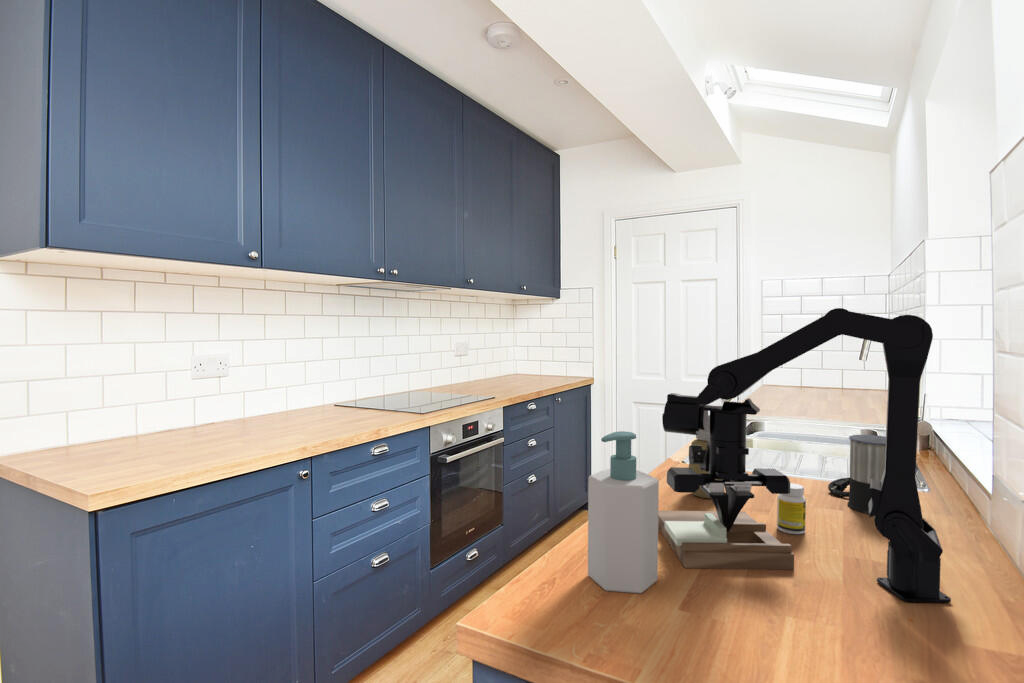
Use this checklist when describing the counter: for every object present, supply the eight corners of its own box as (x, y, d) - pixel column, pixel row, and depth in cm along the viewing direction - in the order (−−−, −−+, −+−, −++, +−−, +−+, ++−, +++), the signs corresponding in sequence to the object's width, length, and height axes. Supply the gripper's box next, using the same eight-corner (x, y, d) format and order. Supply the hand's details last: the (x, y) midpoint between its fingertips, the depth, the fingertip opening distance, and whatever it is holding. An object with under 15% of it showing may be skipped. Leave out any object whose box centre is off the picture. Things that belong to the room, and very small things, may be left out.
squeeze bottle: (733, 498, 124) (734, 417, 123) (703, 502, 121) (705, 419, 120) (707, 488, 131) (709, 411, 131) (679, 492, 128) (680, 413, 128)
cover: (727, 546, 90) (727, 529, 90) (676, 545, 90) (677, 528, 90) (710, 528, 98) (710, 512, 98) (664, 527, 98) (664, 512, 98)
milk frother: (888, 519, 111) (890, 445, 110) (807, 499, 123) (808, 432, 123) (916, 506, 119) (917, 436, 119) (837, 488, 132) (838, 425, 131)
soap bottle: (579, 569, 88) (580, 429, 87) (629, 560, 91) (631, 425, 90) (613, 599, 78) (615, 442, 77) (668, 588, 81) (670, 437, 81)
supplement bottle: (808, 536, 102) (809, 490, 102) (780, 534, 103) (781, 488, 103) (800, 526, 107) (801, 482, 106) (774, 524, 107) (774, 481, 107)
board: (793, 569, 88) (794, 548, 88) (684, 568, 88) (685, 546, 88) (744, 523, 108) (744, 506, 108) (655, 522, 108) (655, 505, 108)
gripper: (763, 429, 101) (761, 515, 102) (659, 428, 102) (658, 513, 102) (792, 443, 90) (790, 539, 91) (676, 441, 91) (674, 537, 91)
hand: (725, 530), depth 94 cm, fingers closed
